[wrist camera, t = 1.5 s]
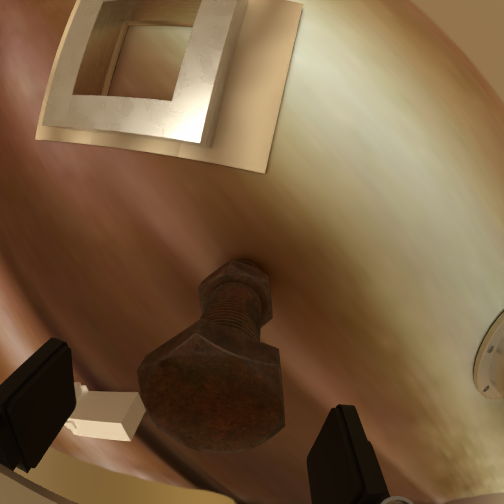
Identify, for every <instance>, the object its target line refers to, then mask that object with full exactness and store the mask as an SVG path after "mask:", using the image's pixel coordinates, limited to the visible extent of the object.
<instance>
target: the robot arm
mask: <svg viewBox="0 0 504 504" xmlns="http://www.w3.org/2000/svg"><path fill="white" fill-rule="evenodd" d="M474 383H475V385H476V388H477V389H478V391H479V392H480V393H481V394H482V395H483V396H484V397H486V398H490V399H497V398H501V397H503V398H504V312H503V313H502V314H501V315H500V316H499V317H498V319H497V320H496V321H495V323H494V324H493V325H492V327H491V328H490V330H489V332H488V333H487V335H486V337H485V339H484V341H483V343H482V345H481V347H480V349H479V352H478V355H477V357H476V362H475V366H474ZM75 408H76V394H75V386H74V378H73V368H72V356H71V349H70V348H69V347H68V345H67V343H66V342H64V341H61V340H59V339H56V338H50V339H49V340H48V341H47V342H46V343H45V344H44V345H43V346H41V347H40V348H39V349H38V350H37V351H36V352H35V353H34V354H33V355H32V356H31V357H29V358H28V359H27V360H26V361H25V362H24V363H23V364H22V365H21V366H20V367H19V368H18V369H17V370H16V371H14V372H13V373H12V374H11V375H10V376H9V377H8V378H7V379H6V380H5V381H4V382H3V383H2V384H1V385H0V504H78V503H75V502H73V501H70V500H68V499H66V498H64V497H62V496H60V495H57V494H55V493H53V492H51V491H49V490H47V489H45V488H43V487H41V486H39V485H37V484H35V483H34V482H32V481H30V480H28V479H26V478H24V477H22V476H21V475H19V474H17V473H15V472H14V469H15V468H16V467H17V468H19V469H21V470H23V471H24V472H26V473H28V472H29V470H30V469H31V468H35V467H36V466H37V465H38V463H39V462H40V460H41V459H42V457H43V455H44V454H45V453H46V451H47V450H48V448H49V447H50V445H51V444H52V442H53V441H54V439H55V438H56V436H57V435H58V433H59V432H60V430H61V429H62V427H63V426H64V424H65V423H66V422H67V420H68V419H69V417H70V416H71V414H72V413H73V411H74V410H75ZM307 470H308V477H309V484H310V492H311V499H312V504H414V503H413V502H412V501H410V500H408V499H407V498H404V497H399V496H393V497H390V495H389V492H388V489H387V486H386V483H385V480H384V478H383V475H382V472H381V469H380V466H379V463H378V460H377V458H376V455H375V452H374V449H373V447H372V444H371V442H369V441H367V438H366V435H365V432H364V430H363V427H362V424H361V421H360V418H359V416H358V413H357V410H356V408H355V406H353V405H341V404H339V405H337V407H336V408H332V409H331V410H330V412H329V415H328V417H327V419H326V421H325V423H324V425H323V427H322V429H321V431H320V433H319V435H318V437H317V439H316V441H315V443H314V445H313V447H312V448H311V450H310V452H309V454H308V457H307Z"/></svg>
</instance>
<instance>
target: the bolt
mask: <svg viewBox="0 0 504 504" xmlns="http://www.w3.org/2000/svg"><path fill="white" fill-rule="evenodd" d="M199 298H200V305H201V311H202V316H201V318H200V320H199V321H197V322H196V323H194V324H193V325H191V326H190V327H188V328H187V329H185V330H184V331H182V332H181V333H179V334H178V335H176V336H175V337H173V338H172V339H170V340H169V341H167V342H166V343H164V344H163V345H161V346H160V347H158V348H157V349H155V350H154V351H152V352H151V353H149V354H148V355H146V357H145V358H144V360H143V362H142V363H141V365H140V366H139V368H138V370H137V374H138V382H139V389H140V393H141V397H142V400H143V404H144V407H145V409H146V412H147V414H148V416H149V417H150V419H151V421H152V422H153V423H154V424H155V425H156V426H157V427H158V428H159V429H160V430H161V431H163V432H164V433H165V434H166V435H168V436H169V437H170V438H172V439H173V440H175V441H177V442H179V443H180V444H182V445H184V446H187V447H189V448H192V449H195V450H198V451H204V452H214V453H233V452H241V451H246V450H249V449H251V448H254V447H256V446H258V445H260V444H262V443H264V442H265V441H267V440H268V439H270V438H271V437H273V436H274V435H275V434H276V433H278V432H279V431H280V430H281V429H283V428H284V427H285V412H284V399H283V387H282V377H281V366H280V356H279V349H278V348H275V347H273V346H270V345H268V344H265V343H262V342H260V329H261V327H262V326H264V325H265V324H266V323H267V322H269V321H270V320H271V319H272V318H273V316H272V301H271V292H270V283H269V275H267V274H265V273H264V272H262V271H261V270H260V269H259V267H258V266H257V265H256V264H255V263H253V262H251V261H247V260H236V261H235V260H231V261H230V262H228V263H226V264H225V265H223V266H222V267H220V268H219V269H217V270H216V271H215V272H213V273H212V274H211V275H209V276H208V277H207V278H206V279H205V280H203V281H202V282H201V284H200V286H199Z"/></svg>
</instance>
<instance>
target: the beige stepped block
mask: <svg viewBox="0 0 504 504" xmlns="http://www.w3.org/2000/svg"><path fill="white" fill-rule="evenodd" d="M74 386H75V394H76V408H75V410H74V411H73V413H72V414H71V416H70V417H69V419H68V420H67V422H66V423H65V424H64V426H66V427H67V428H68V429H71V431H72V432H73V434H74V435H79V436H86V437H94V438H102V439H111V440H122V441H131V440H132V438H133V435H134V433H135V431H136V429H137V427H138V425H139V423H140V421H141V419H142V417H143V415H144V413H145V411H146V409H145V407H144V405H143V402H142V400H141V398H140V395H139V393H138V392H100V391H89V390H88V388H87V386H86V385H81V383H80V382H74Z"/></svg>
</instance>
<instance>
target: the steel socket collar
mask: <svg viewBox="0 0 504 504" xmlns="http://www.w3.org/2000/svg"><path fill="white" fill-rule="evenodd" d="M247 7H248V0H81V1H80V3H79V6H78V8H77V10H76V13H75V15H74V18H73V20H72V23H71V25H70V28H69V31H68V34H67V36H66V39H65V42H64V45H63V48H62V51H61V54H60V57H59V60H58V63H57V67H56V70H55V73H54V77H53V81H52V84H51V88H50V92H49V96H48V100H47V104H46V108H45V113H44V117H43V122H42V126H48V127H55V128H61V129H67V130H76V131H87V132H98V133H108V134H117V135H126V136H134V137H142V138H149V139H156V140H163V141H170V142H176V143H183V144H189V145H195V146H201V147H206V148H212V143H213V139H214V134H215V130H216V126H217V121H218V117H219V113H220V109H221V104H222V100H223V96H224V92H225V88H226V84H227V80H228V76H229V72H230V68H231V64H232V61H233V57H234V53H235V49H236V46H237V42H238V38H239V35H240V31H241V28H242V24H243V21H244V17H245V14H246V10H247ZM124 21H183V22H194V26H193V29H192V32H191V35H190V38H189V41H188V45H187V48H186V51H185V55H184V58H183V62H182V65H181V69H180V73H179V76H178V80H177V84H176V88H175V91H174V95H173V99H172V101H164V100H154V99H143V98H131V97H116V96H101V94H102V90H103V86H104V83H105V79H106V75H107V72H108V68H109V65H110V62H111V58H112V55H113V52H114V49H115V46H116V43H117V40H118V37H119V34H120V31H121V28H122V26H123V23H124Z"/></svg>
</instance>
